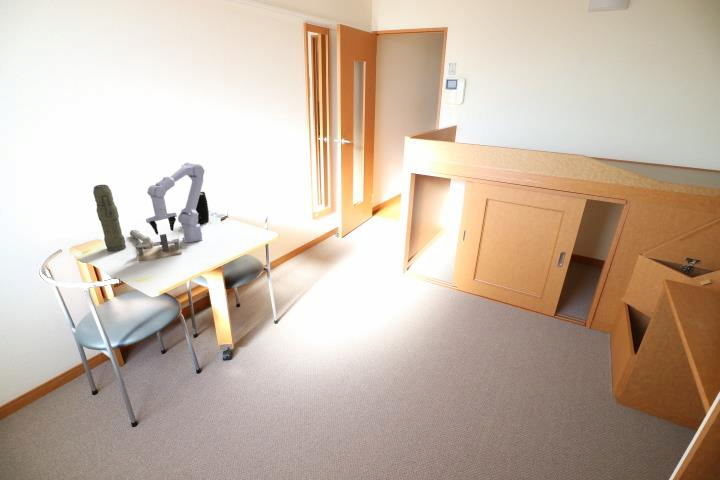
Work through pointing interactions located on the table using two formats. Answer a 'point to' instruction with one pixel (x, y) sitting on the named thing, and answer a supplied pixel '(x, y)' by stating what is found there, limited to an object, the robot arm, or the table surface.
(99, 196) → the olive green carved statue
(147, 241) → the toothbrush head
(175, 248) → the pipe rig
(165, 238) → the tall grey prism
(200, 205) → the portable speaker
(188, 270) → the table surface
